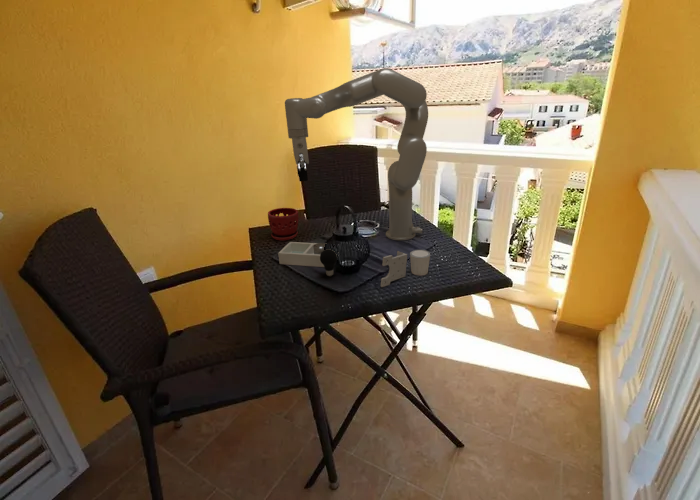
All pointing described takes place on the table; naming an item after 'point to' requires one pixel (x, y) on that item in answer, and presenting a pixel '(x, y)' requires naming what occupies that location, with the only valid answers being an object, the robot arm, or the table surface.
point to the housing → (302, 254)
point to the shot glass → (419, 262)
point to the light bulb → (328, 260)
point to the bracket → (394, 267)
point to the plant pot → (283, 223)
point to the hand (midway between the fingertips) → (302, 178)
